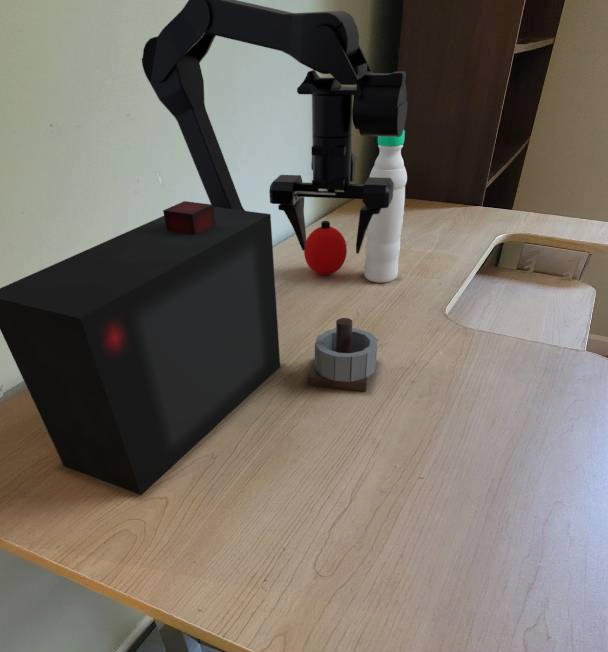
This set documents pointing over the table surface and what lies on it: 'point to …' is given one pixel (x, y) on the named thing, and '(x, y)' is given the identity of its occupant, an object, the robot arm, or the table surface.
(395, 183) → the water bottle
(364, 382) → the stand
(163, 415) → the speaker
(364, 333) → the tape
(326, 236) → the ornament
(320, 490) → the table surface
